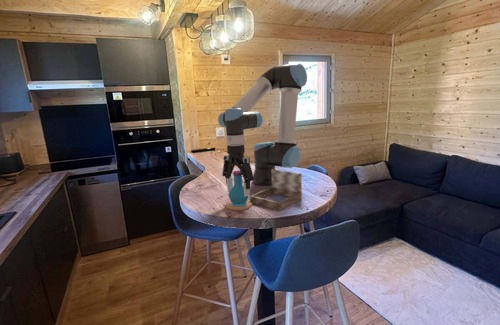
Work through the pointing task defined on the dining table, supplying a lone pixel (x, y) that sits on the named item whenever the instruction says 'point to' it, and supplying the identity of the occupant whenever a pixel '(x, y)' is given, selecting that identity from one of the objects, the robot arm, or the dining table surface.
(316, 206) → the dining table surface
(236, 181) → the perfume bottle
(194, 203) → the dining table surface
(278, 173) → the frame
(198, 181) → the dining table surface
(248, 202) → the saucer
